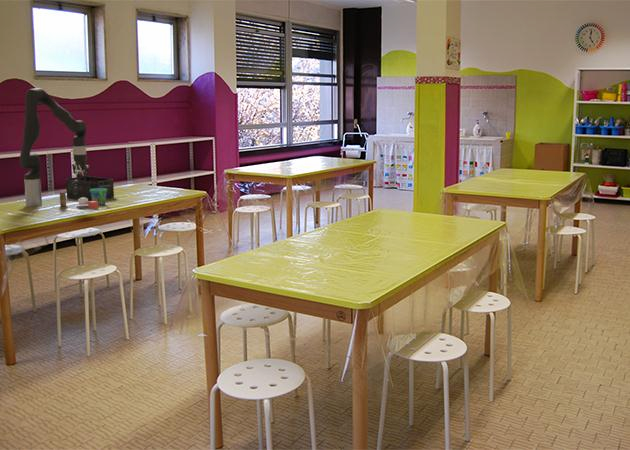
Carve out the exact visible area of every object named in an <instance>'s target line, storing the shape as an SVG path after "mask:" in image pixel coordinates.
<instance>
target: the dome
mask: <svg viewBox="0 0 630 450" xmlns="http://www.w3.org/2000/svg"><path fill="white" fill-rule="evenodd" d="M77 200H78V201H77V202H78V205H88V202H89V201H88V199H87V198H80V199H77Z"/></svg>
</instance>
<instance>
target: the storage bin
mask: <svg viewBox="0 0 630 450" xmlns="http://www.w3.org/2000/svg"><path fill="white" fill-rule="evenodd" d="M86 177H87V181H86V182H83V175H82V176H80V178H81V180H80V181H77V177H68V178H65V187H66V188H65V189H66V191H65V192H66V199H71V200H78V199H80V198H87V199H88V202H91V201H92V197H91V193H90V189H94V188H106V189H107V192H106V200H110V199H114V198H115V189H114V178H109V177H99V176H89V175H86ZM109 198H110V199H109Z"/></svg>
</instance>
